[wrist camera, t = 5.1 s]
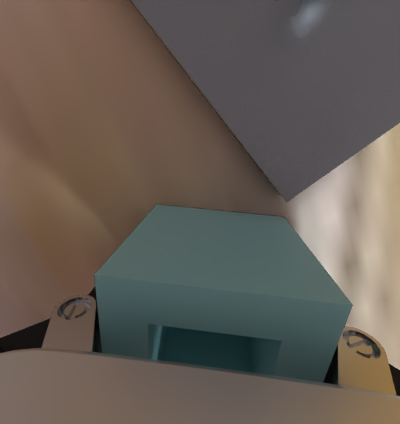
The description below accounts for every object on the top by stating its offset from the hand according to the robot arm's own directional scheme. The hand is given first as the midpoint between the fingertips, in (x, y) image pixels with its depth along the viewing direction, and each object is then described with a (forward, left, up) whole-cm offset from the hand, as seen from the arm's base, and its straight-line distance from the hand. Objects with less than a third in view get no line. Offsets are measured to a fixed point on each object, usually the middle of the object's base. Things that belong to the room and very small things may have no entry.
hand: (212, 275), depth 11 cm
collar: (0, 0, -1) cm, 1 cm away
